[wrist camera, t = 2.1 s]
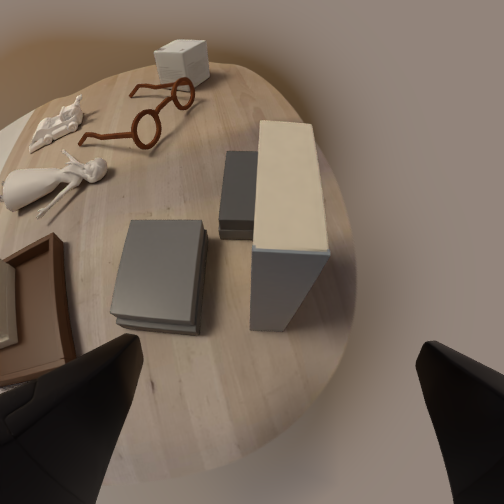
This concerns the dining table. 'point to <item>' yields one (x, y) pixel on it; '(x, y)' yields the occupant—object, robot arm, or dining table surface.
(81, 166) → the woman figurine
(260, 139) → the white book
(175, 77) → the white cardboard box
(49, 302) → the book tray
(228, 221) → the dark grey book stack
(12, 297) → the white book stack
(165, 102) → the glasses
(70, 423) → the robot arm
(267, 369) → the dining table surface
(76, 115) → the toy car
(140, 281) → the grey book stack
